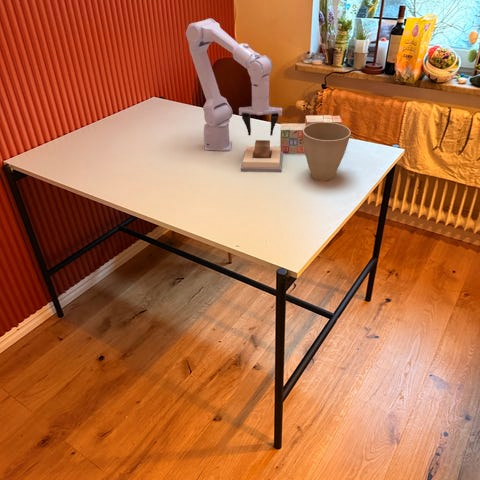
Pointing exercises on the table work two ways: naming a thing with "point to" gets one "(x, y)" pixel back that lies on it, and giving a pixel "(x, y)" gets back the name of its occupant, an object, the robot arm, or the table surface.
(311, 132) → the plant pot
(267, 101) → the robot arm
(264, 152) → the walnut block
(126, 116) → the table surface
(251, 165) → the puzzle board
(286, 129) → the stack of blocks
